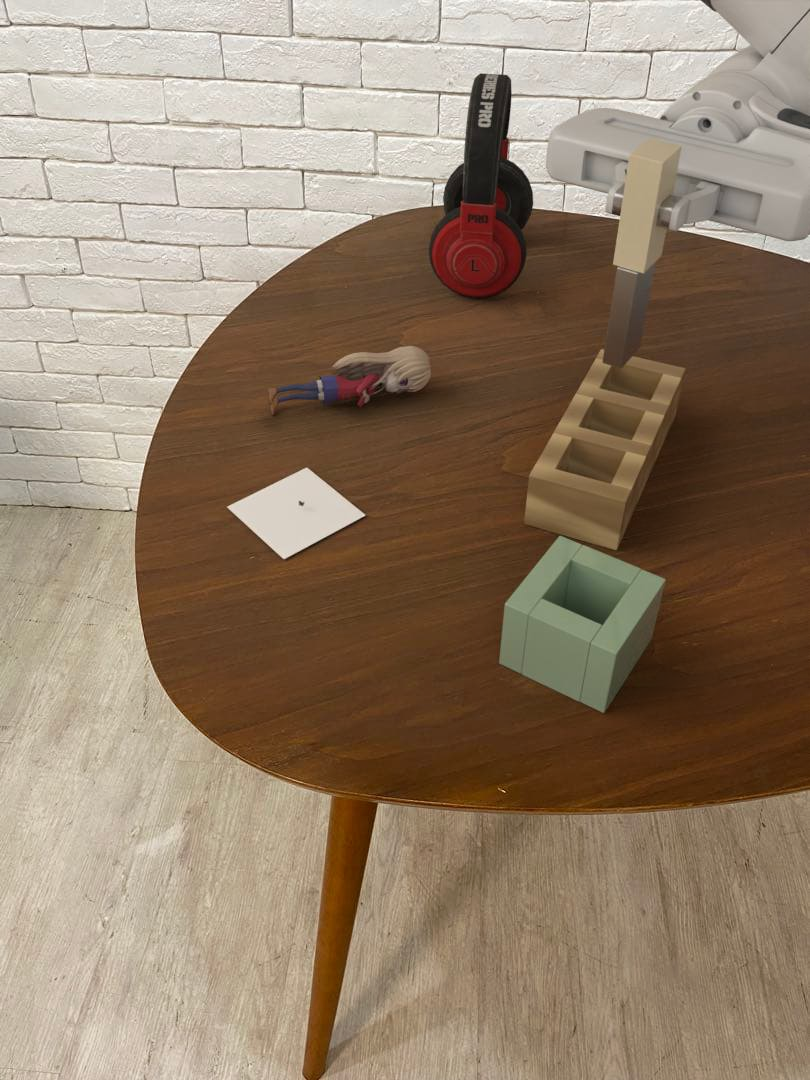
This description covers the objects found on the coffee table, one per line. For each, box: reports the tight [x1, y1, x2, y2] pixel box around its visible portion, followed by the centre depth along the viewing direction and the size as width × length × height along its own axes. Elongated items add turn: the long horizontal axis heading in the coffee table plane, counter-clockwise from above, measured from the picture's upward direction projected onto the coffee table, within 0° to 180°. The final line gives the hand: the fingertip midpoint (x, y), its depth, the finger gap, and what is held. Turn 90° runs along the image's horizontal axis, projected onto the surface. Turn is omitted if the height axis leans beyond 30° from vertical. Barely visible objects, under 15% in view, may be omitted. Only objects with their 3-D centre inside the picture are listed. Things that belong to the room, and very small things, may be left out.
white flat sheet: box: [226, 467, 366, 560], centre depth 84 cm, size 8×8×1 cm
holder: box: [498, 535, 667, 714], centre depth 72 cm, size 8×8×6 cm
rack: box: [523, 348, 687, 551], centre depth 87 cm, size 20×8×5 cm, turn 156°
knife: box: [603, 139, 682, 369], centre depth 75 cm, size 2×4×16 cm, turn 147°
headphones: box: [428, 72, 534, 299], centre depth 108 cm, size 18×10×20 cm, turn 172°
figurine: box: [266, 345, 432, 416], centre depth 94 cm, size 6×4×15 cm
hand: (641, 212), depth 72 cm, fingers closed on knife, 2 cm apart
